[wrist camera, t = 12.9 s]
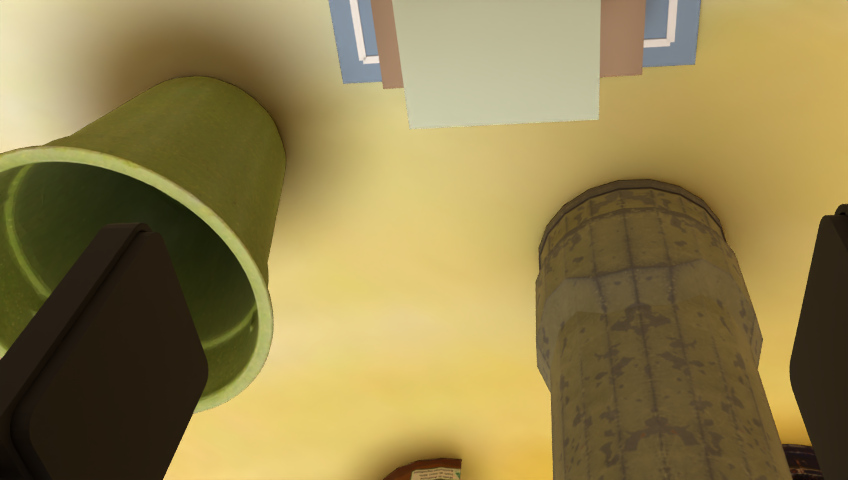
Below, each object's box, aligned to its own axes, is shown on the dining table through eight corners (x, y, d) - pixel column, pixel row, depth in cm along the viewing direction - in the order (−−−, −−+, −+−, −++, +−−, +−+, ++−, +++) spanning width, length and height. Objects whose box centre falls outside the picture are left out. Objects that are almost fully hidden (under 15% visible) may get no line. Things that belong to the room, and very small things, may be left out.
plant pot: (348, 46, 33) (280, 191, 24) (324, 266, 40) (265, 443, 31) (67, -8, 33) (-106, 117, 24) (93, 222, 40) (-34, 386, 31)
